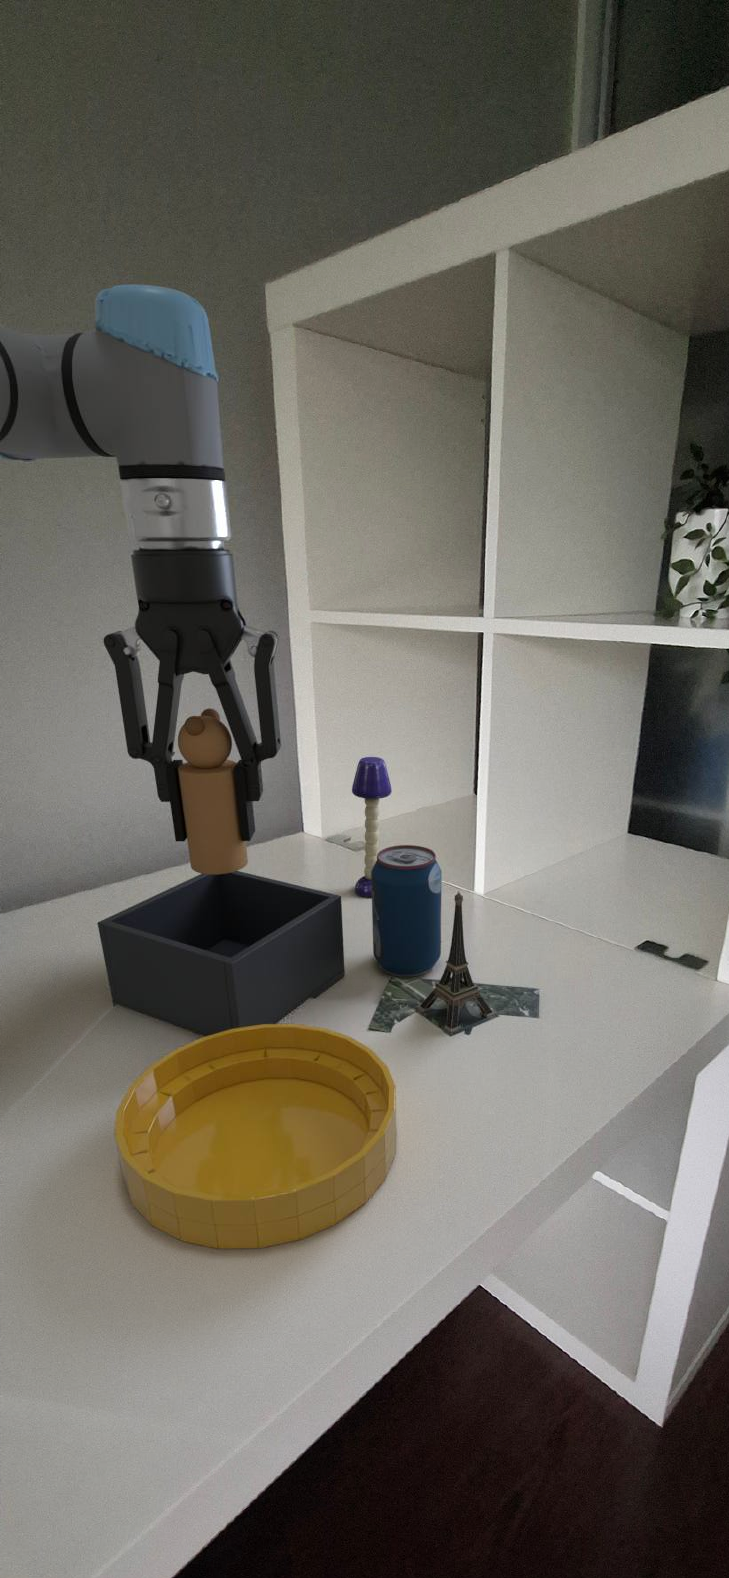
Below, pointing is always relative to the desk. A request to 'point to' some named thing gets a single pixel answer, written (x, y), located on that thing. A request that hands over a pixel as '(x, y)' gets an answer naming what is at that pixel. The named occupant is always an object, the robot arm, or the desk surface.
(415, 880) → the soda can
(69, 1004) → the desk surface
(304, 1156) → the bowl
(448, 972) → the eiffel tower figurine
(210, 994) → the bin
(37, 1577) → the desk surface
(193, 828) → the toy bear
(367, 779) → the toy lamp
